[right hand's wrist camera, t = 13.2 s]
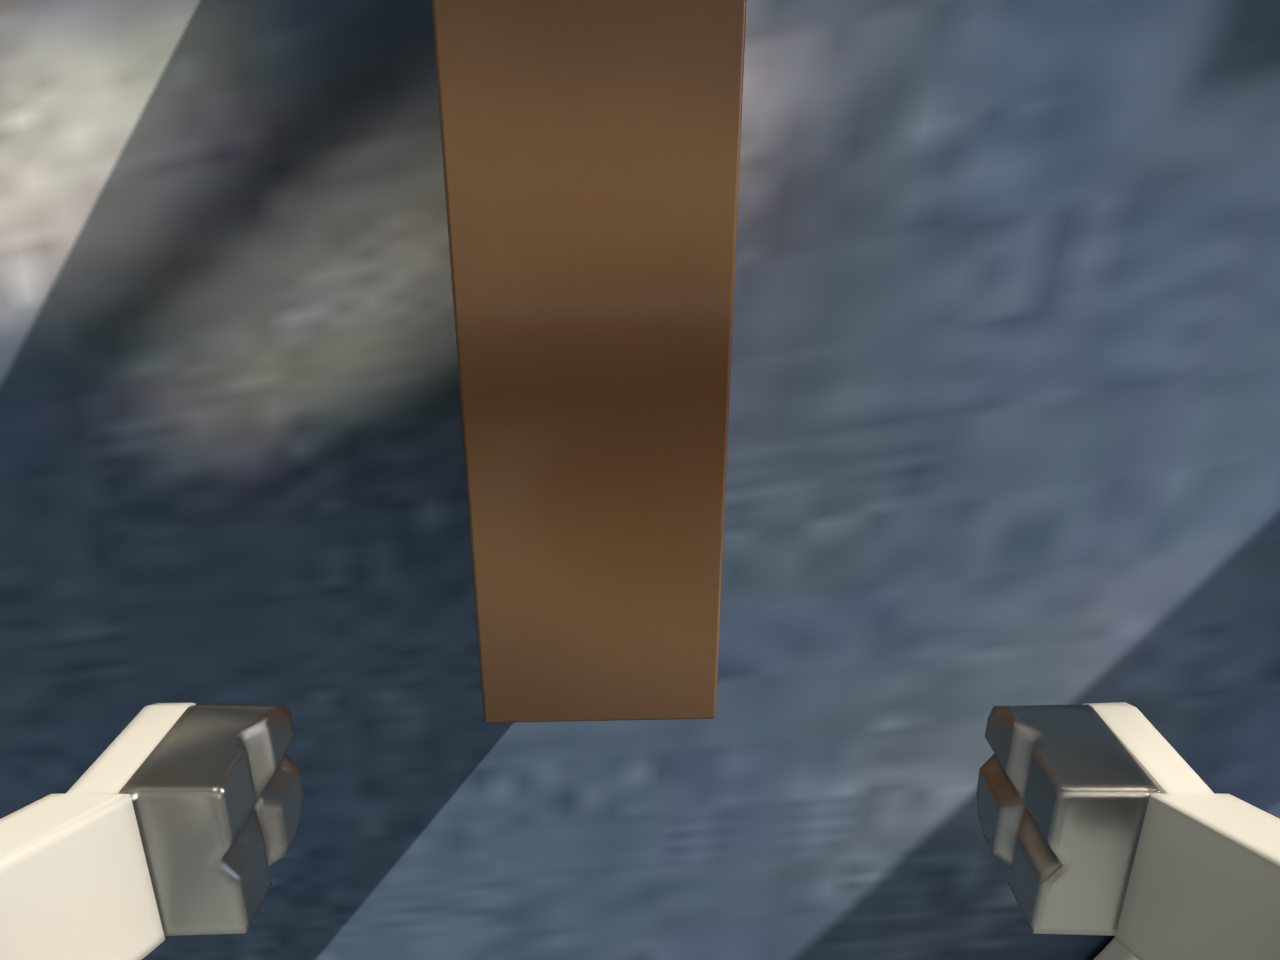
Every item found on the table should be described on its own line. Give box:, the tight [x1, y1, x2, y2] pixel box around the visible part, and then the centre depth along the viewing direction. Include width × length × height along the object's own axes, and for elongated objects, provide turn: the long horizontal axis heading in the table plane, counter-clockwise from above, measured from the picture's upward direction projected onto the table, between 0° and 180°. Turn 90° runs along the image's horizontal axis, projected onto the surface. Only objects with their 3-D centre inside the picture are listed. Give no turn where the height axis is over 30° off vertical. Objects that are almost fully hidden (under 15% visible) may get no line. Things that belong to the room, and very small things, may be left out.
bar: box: [431, 0, 746, 723], centre depth 18 cm, size 23×5×9 cm, turn 0°
